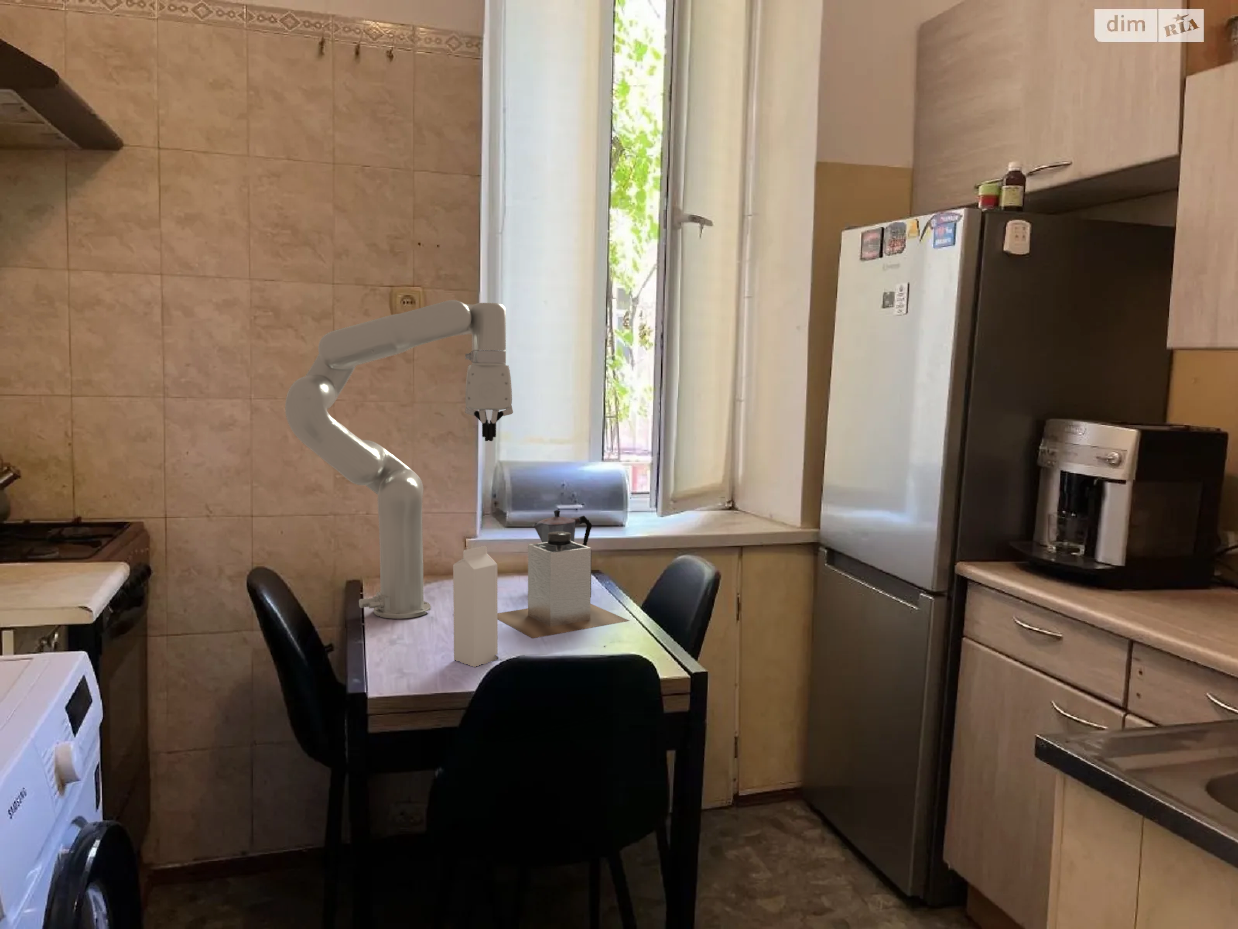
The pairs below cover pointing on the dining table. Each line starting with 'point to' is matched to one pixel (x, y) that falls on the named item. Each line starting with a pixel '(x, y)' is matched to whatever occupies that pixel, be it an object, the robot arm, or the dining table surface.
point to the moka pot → (561, 526)
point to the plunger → (559, 539)
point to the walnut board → (539, 629)
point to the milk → (475, 608)
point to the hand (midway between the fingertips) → (489, 440)
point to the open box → (559, 583)
